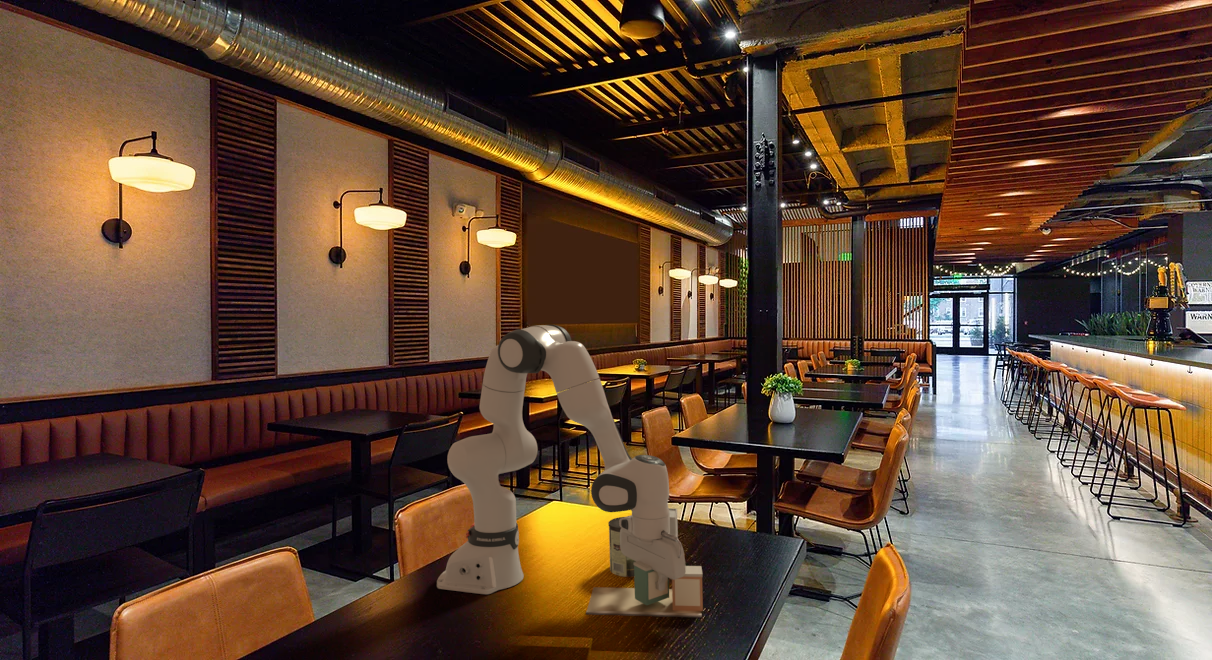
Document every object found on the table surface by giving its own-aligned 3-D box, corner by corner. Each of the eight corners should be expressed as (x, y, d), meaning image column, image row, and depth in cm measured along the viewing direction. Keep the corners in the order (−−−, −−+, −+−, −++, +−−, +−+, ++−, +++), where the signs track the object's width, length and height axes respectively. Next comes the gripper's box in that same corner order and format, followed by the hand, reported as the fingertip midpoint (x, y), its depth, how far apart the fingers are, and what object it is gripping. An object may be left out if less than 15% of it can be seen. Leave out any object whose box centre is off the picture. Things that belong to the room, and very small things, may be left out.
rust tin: (672, 601, 138) (671, 565, 139) (702, 602, 138) (701, 566, 138) (672, 610, 134) (671, 573, 134) (703, 611, 133) (702, 574, 133)
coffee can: (650, 568, 162) (648, 516, 162) (645, 583, 152) (643, 529, 152) (613, 565, 164) (612, 515, 164) (606, 581, 154) (604, 527, 154)
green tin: (634, 598, 137) (633, 562, 137) (657, 590, 141) (656, 555, 141) (646, 605, 133) (646, 568, 133) (670, 597, 137) (669, 561, 137)
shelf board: (586, 620, 133) (585, 612, 133) (593, 593, 147) (593, 586, 147) (702, 624, 130) (701, 615, 130) (698, 595, 144) (698, 588, 144)
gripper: (691, 535, 131) (692, 597, 130) (635, 512, 147) (636, 568, 147) (669, 541, 127) (671, 605, 127) (614, 517, 144) (616, 574, 144)
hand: (652, 585), depth 137 cm, fingers closed on green tin, 4 cm apart
